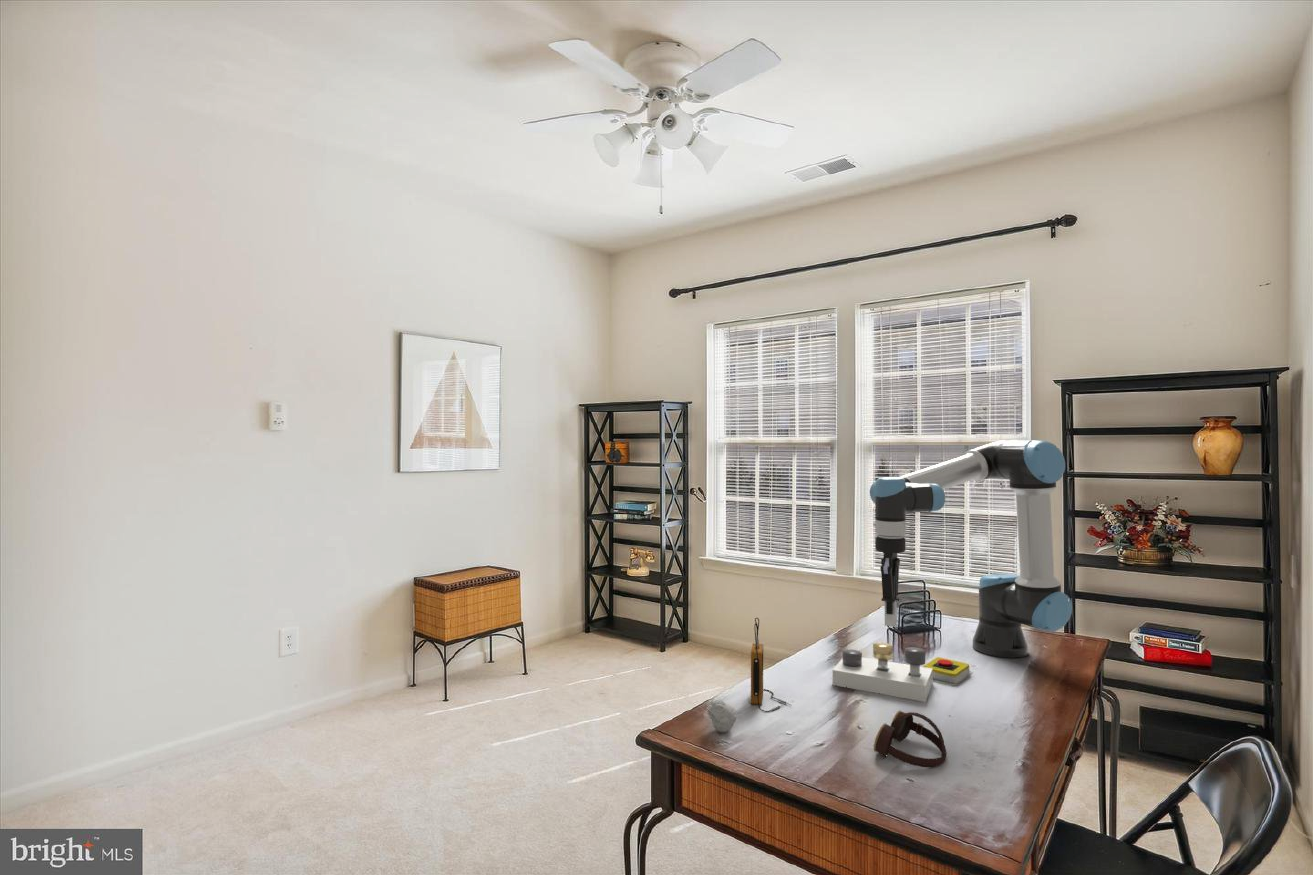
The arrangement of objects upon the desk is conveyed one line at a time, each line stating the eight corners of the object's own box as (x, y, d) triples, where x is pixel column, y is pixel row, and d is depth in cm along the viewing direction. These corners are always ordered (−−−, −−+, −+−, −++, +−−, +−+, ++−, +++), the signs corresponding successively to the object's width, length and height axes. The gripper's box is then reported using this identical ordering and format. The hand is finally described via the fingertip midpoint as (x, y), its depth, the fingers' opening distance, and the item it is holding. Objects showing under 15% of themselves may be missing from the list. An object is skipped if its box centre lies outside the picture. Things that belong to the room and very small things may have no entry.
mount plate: (932, 683, 182) (932, 668, 181) (925, 701, 169) (925, 685, 169) (845, 668, 193) (845, 654, 193) (832, 684, 180) (832, 669, 180)
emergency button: (918, 663, 186) (939, 650, 197) (918, 679, 186) (939, 665, 197) (954, 671, 180) (973, 657, 191) (953, 688, 180) (973, 673, 191)
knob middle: (894, 670, 182) (894, 644, 182) (890, 676, 177) (891, 649, 177) (874, 667, 184) (875, 641, 184) (871, 673, 180) (871, 646, 180)
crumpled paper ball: (701, 728, 154) (701, 697, 154) (729, 723, 156) (729, 693, 156) (713, 739, 148) (713, 707, 148) (742, 734, 151) (742, 703, 151)
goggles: (892, 730, 152) (903, 689, 151) (952, 761, 144) (964, 718, 143) (865, 755, 141) (876, 711, 139) (928, 790, 133) (941, 744, 131)
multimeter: (792, 714, 161) (792, 630, 161) (749, 711, 163) (749, 627, 163) (792, 691, 176) (792, 614, 176) (753, 688, 178) (753, 611, 178)
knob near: (926, 675, 178) (926, 649, 178) (923, 681, 174) (923, 654, 174) (906, 672, 180) (906, 646, 180) (903, 678, 176) (903, 651, 176)
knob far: (863, 676, 186) (863, 651, 186) (859, 682, 181) (859, 656, 181) (844, 673, 188) (845, 648, 188) (840, 679, 184) (840, 653, 184)
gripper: (881, 531, 187) (881, 617, 188) (870, 538, 176) (870, 629, 176) (909, 533, 184) (910, 621, 184) (900, 540, 172) (900, 633, 173)
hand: (890, 625), depth 180 cm, fingers closed
